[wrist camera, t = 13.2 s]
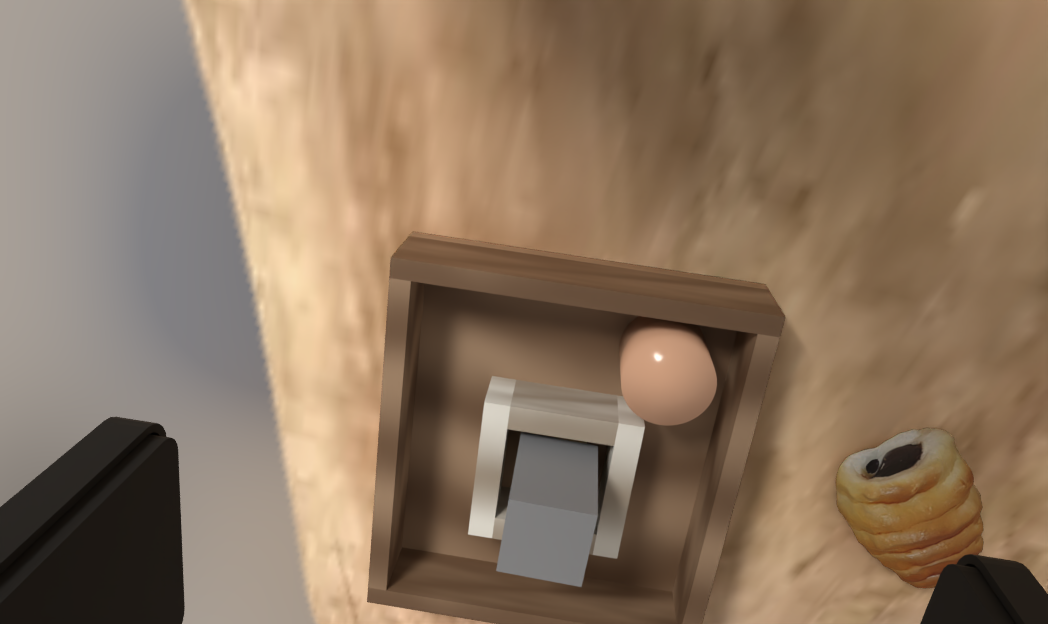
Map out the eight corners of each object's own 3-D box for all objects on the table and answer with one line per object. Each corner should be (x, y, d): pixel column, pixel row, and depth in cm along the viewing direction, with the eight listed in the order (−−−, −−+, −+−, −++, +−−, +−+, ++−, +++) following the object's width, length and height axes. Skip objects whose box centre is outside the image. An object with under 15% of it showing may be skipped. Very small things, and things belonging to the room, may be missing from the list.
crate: (412, 231, 40) (390, 257, 36) (765, 284, 39) (785, 317, 35) (387, 549, 47) (367, 601, 43) (684, 598, 47) (693, 656, 42)
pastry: (997, 543, 44) (1032, 591, 40) (878, 585, 45) (901, 634, 42) (937, 410, 41) (968, 449, 38) (814, 460, 43) (833, 501, 39)
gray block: (524, 413, 42) (508, 499, 35) (597, 426, 42) (597, 515, 35) (513, 475, 44) (496, 571, 36) (584, 488, 43) (581, 587, 36)
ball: (627, 303, 39) (630, 333, 36) (714, 316, 39) (726, 348, 36) (612, 380, 41) (613, 417, 37) (696, 393, 41) (705, 432, 37)
